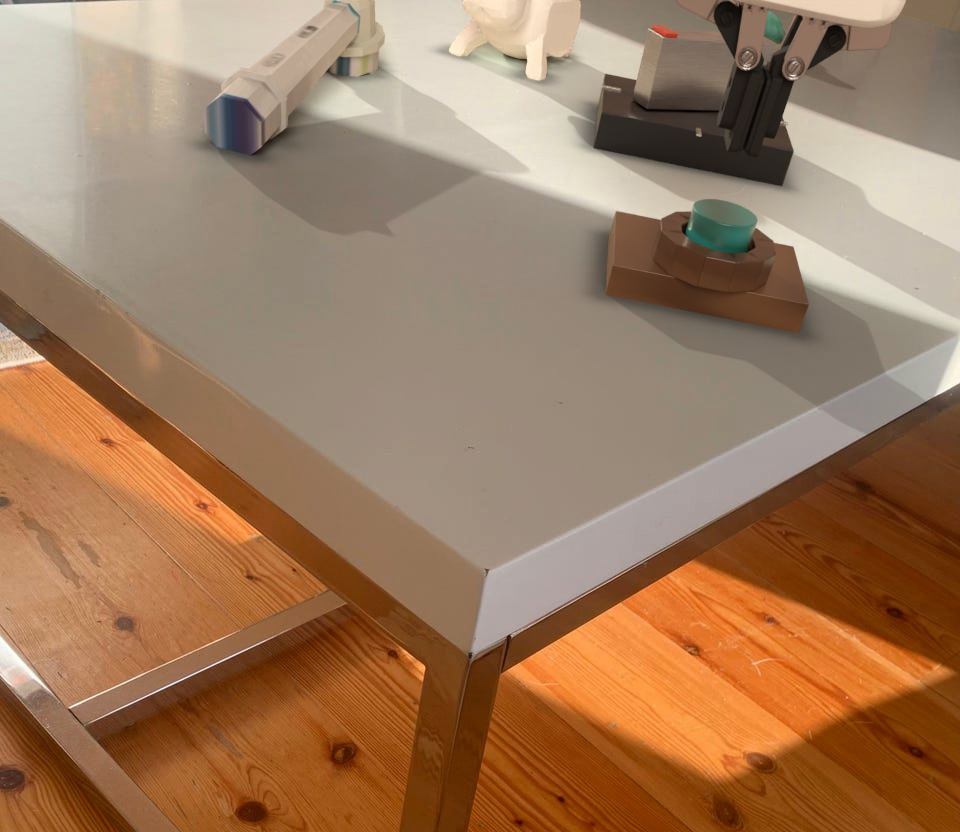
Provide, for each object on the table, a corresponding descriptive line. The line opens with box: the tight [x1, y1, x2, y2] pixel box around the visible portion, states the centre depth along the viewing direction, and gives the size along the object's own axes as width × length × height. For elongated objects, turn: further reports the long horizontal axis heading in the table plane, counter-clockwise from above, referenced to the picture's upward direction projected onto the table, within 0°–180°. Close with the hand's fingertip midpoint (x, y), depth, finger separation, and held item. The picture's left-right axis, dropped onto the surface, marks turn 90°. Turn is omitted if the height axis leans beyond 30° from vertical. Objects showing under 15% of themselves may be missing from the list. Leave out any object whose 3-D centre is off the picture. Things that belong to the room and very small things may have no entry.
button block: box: [605, 210, 810, 334], centre depth 64 cm, size 11×9×4 cm
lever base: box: [593, 73, 795, 187], centre depth 85 cm, size 14×14×3 cm
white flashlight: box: [203, 0, 386, 156], centre depth 78 cm, size 5×7×25 cm
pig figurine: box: [448, 0, 582, 81], centre depth 93 cm, size 9×8×15 cm
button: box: [685, 198, 758, 253], centre depth 62 cm, size 4×4×2 cm
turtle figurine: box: [764, 10, 786, 53], centre depth 114 cm, size 6×7×4 cm
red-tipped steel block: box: [632, 24, 777, 111], centre depth 83 cm, size 10×2×5 cm, turn 114°
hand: (740, 145), depth 59 cm, fingers closed
